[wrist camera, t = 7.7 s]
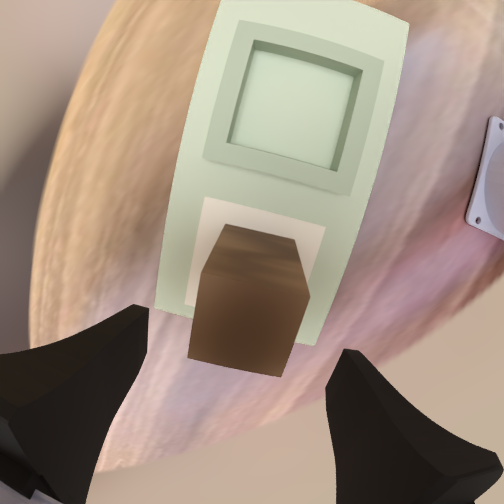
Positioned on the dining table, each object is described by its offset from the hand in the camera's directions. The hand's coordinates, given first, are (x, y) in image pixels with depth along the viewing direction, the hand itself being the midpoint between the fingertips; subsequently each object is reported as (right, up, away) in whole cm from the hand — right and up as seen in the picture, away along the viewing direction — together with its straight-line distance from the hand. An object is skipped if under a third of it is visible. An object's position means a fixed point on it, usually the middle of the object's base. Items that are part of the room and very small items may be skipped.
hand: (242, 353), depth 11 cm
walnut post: (0, +3, +7) cm, 8 cm away
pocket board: (+2, +9, +6) cm, 11 cm away
